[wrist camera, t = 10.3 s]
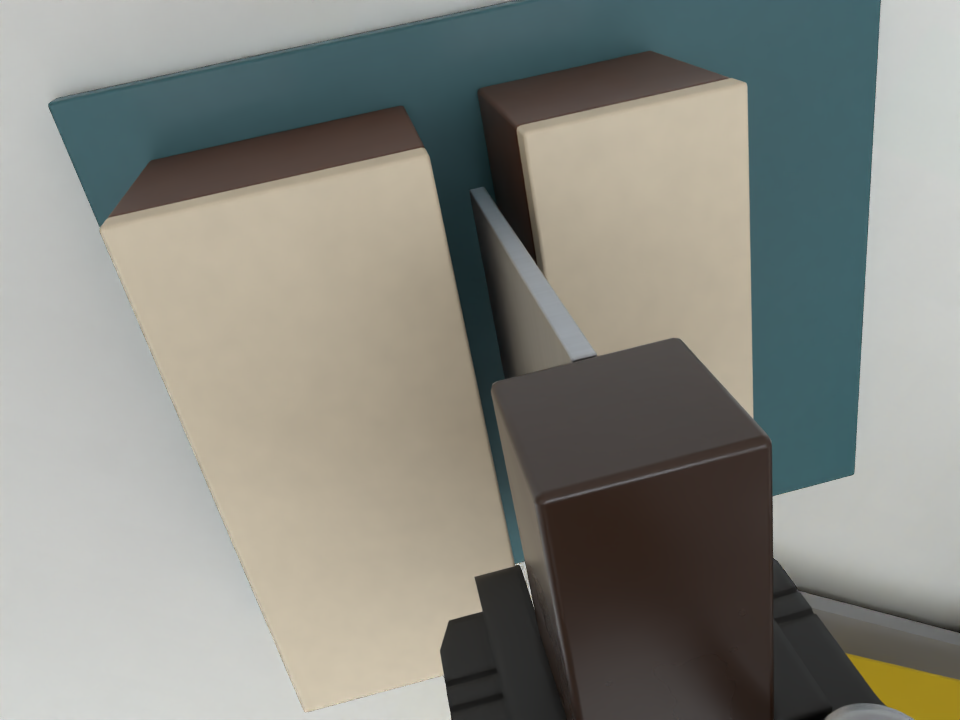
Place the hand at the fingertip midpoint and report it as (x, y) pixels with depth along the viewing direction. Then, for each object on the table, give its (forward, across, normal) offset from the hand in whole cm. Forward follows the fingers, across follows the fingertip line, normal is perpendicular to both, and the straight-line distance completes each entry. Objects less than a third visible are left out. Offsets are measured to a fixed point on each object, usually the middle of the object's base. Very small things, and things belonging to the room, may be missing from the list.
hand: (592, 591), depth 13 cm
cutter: (+6, 0, 0) cm, 6 cm away
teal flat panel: (+10, -1, 0) cm, 10 cm away
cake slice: (+9, -3, 0) cm, 9 cm away
